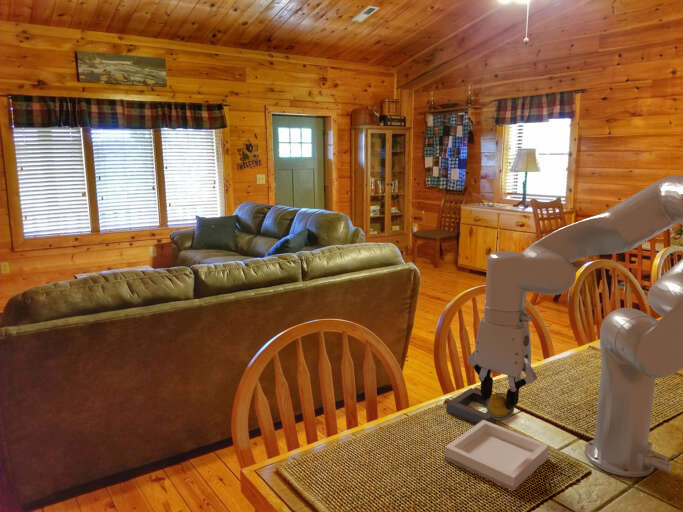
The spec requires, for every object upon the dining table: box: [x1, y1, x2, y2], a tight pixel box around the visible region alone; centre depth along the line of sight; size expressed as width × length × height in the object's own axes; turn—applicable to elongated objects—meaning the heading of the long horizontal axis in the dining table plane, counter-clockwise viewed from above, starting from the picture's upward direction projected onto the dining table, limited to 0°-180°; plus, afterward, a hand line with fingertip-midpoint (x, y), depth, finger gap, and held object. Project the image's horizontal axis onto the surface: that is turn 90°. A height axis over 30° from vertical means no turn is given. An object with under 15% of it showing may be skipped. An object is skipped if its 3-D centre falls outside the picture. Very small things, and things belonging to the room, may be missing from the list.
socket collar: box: [445, 387, 499, 425], centre depth 129 cm, size 11×11×2 cm
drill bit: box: [485, 392, 515, 421], centre depth 107 cm, size 5×5×10 cm
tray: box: [444, 420, 550, 492], centre depth 110 cm, size 15×15×3 cm
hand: (498, 401), depth 107 cm, fingers closed on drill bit, 4 cm apart
